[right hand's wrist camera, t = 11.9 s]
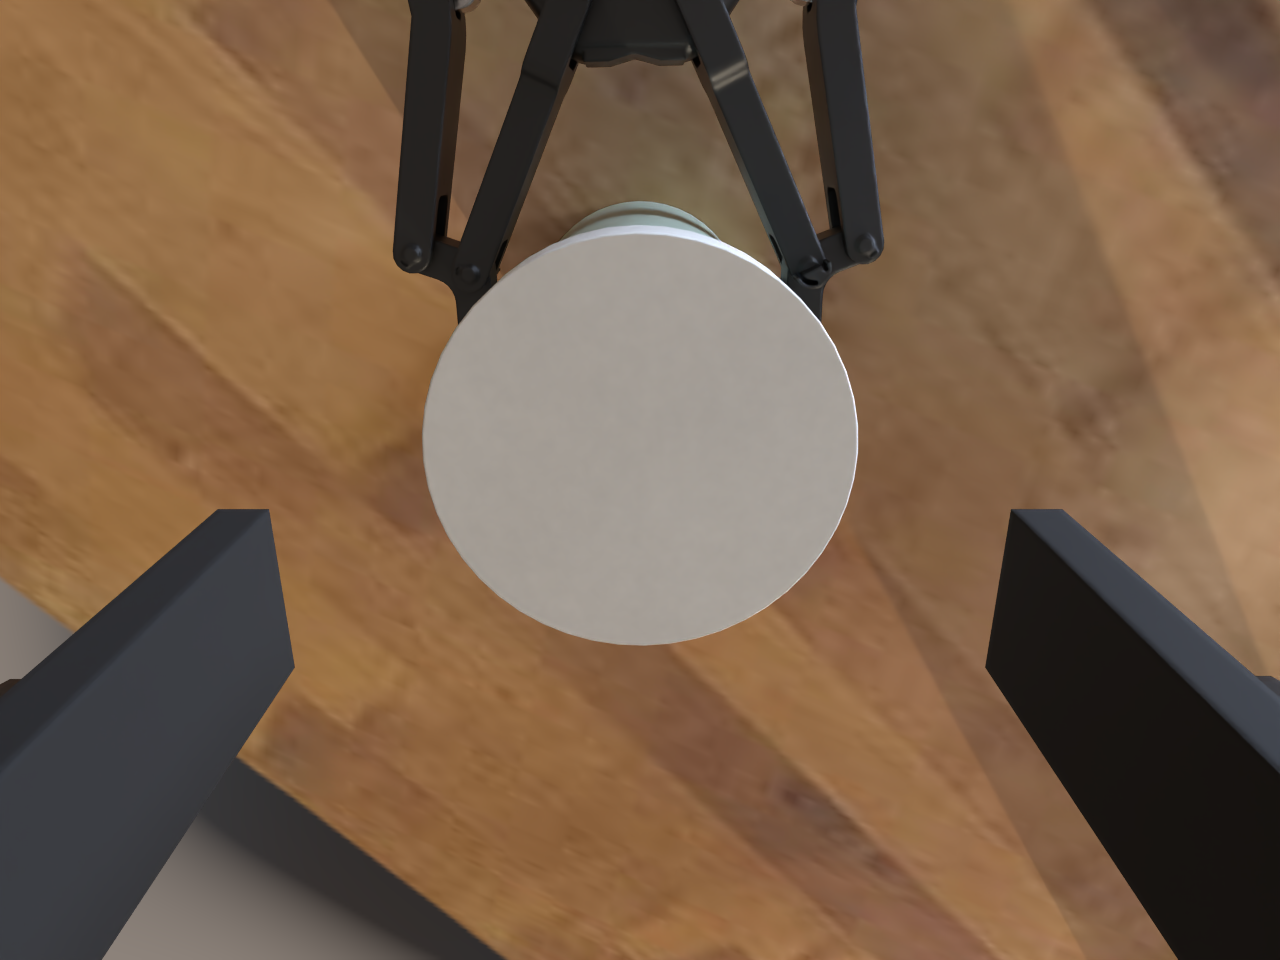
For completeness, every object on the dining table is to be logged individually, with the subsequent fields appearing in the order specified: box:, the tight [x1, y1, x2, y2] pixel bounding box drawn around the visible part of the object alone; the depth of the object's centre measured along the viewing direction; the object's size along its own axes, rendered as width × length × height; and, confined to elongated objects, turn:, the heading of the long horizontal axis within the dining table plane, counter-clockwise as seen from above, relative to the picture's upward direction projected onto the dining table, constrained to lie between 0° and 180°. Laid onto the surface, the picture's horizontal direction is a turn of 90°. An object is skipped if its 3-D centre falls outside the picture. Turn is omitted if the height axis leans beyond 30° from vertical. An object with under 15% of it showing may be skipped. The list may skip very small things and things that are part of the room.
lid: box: [422, 225, 858, 645], centre depth 20 cm, size 9×9×2 cm
